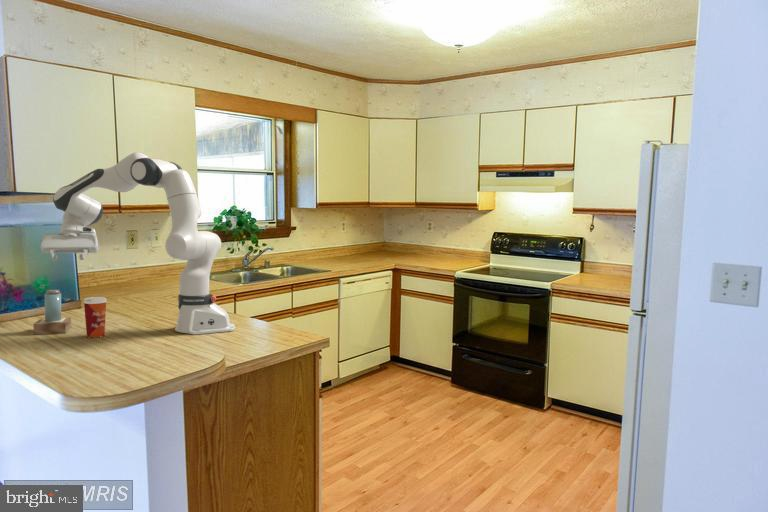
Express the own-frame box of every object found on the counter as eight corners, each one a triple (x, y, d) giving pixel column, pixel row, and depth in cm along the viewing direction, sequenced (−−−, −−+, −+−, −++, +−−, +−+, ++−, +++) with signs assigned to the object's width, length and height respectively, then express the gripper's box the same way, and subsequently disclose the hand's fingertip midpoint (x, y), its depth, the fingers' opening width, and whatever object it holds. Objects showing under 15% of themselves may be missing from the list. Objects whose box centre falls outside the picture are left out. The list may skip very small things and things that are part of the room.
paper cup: (97, 339, 184) (96, 300, 182) (78, 337, 185) (77, 299, 184) (112, 334, 191) (112, 297, 190) (94, 333, 193) (94, 296, 192)
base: (71, 327, 200) (70, 317, 200) (65, 333, 191) (65, 322, 190) (41, 328, 196) (40, 318, 196) (33, 334, 187) (33, 323, 187)
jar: (62, 318, 197) (62, 289, 196) (59, 321, 192) (59, 291, 191) (46, 318, 195) (46, 289, 194) (43, 321, 190) (43, 291, 189)
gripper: (41, 228, 207) (35, 254, 199) (98, 228, 215) (95, 253, 206) (44, 239, 212) (39, 264, 204) (100, 239, 219) (97, 263, 211)
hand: (68, 259), depth 205 cm, fingers open, 8 cm apart
